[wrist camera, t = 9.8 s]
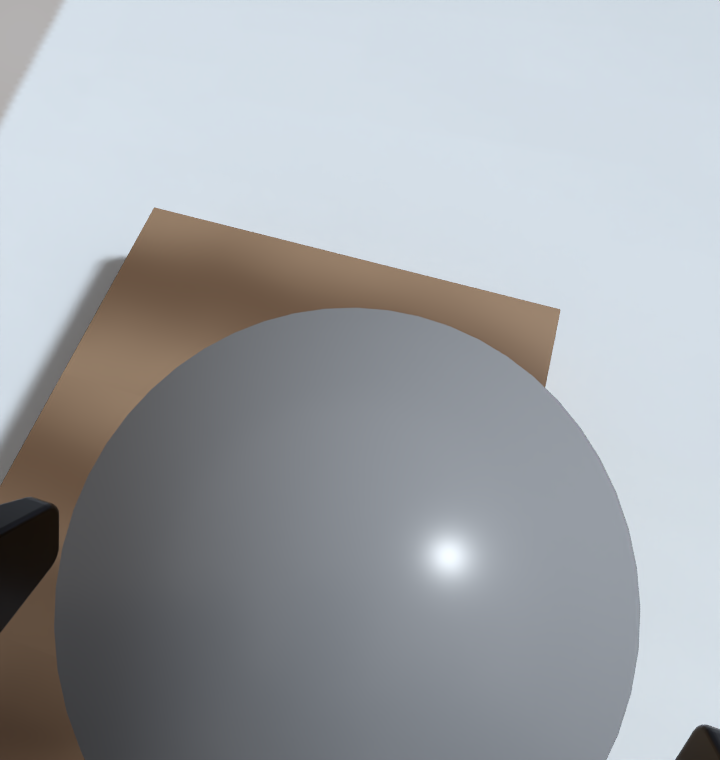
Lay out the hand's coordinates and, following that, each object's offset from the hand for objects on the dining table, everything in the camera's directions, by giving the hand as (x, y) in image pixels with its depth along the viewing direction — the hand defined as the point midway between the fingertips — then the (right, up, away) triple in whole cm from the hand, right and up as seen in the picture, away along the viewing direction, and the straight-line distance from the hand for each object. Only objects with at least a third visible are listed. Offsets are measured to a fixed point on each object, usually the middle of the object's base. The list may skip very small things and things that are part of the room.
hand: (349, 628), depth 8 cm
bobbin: (0, -3, +9) cm, 10 cm away
